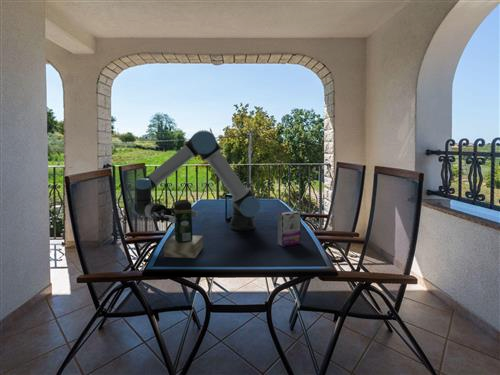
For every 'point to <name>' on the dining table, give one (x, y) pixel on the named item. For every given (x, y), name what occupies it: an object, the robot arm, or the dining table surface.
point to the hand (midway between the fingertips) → (186, 217)
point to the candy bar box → (289, 228)
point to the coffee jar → (183, 221)
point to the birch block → (183, 247)
